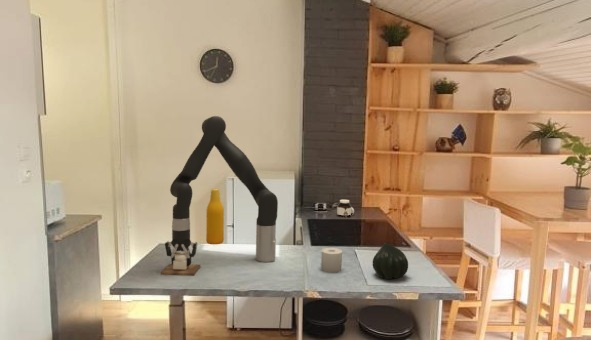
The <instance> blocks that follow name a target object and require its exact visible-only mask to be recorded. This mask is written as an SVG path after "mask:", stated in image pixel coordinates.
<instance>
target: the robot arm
mask: <svg viewBox="0 0 591 340" xmlns="http://www.w3.org/2000/svg"><path fill="white" fill-rule="evenodd" d="M226 128H227V124H226V121H225V120H224V119H223V118H222V117H221V116H218V115H217V116H216V115H214V116H210V117H208V118H206V119H205V120H203V122H202V125H201V130H202V133H203V134H202V137H201V139H200V140H199V142H198V144H197V146H196V147H195V149H193V151H192V153H191V154H190V155H189V157H188V159H186V160H187V161H186V162H185V164H184V166H183V168H182V169H181V172H179V173H178V174H177V176H176V177H175V179H174V180H173V182H172V183H171V185H170V189H169V191H170V195H172V196H173V197H175V198H176V202H175V204H174V205H173V206H172V220H171V222H172V224H171V238H172V239H171V240H170V241H169V240H168V241H166V242H164V246H165V253H166V256H167V257H170V258H171V261H170V264H172V265H173V261H174V260H175V253H177V252H185V254H186V256H187V266H189V265H190V264H192V258H194V257H196V253H197V247H198V242H196V241H195V242H192V240H191V219H190V214H191V213H190V207H191V204H192V198H193V188H192V186H191V185H190V183H191V182H192V181H195V180H196V179H197V178H198V176H199V175H200V173H201V170H202V169H203V167H204V165H205V163H206V161H207V159H208V158H209V156H210V154H211V151H212V150H213V148H214V147H215V149H216V150H217V151H218V152H219V154H220V155H221V157H222V159H224V161H225V162H226V164H227V166H229V169H230V170H231V171H232V172H233V174H234V175H235V176H236V177H237V179H238V180H239V181H240V182H241V184H243V186H245V187H246V188H247V190H248V192H249V193H250V195H251V196H252V198H253V200H254V201H255V203H256V205H257V206H258V209H257V218H256V223H255V224H256V225H255V226H256V230H255V231H256V232H255V233H256V235H255V238H256V240H255V260H256V261H258V262H261V263H269V262H275V261H276V257H277V256H276V255H277V254H276V253H277V251H276V249H277V248H276V246H277V244H276V243H277V239H276V232H277V231H276V229H277V227H276V225H277V224H276V223H277V219H278V208H279V207H278V206H279V205H278V198H277V195H276V194H275V193H274V192H272V191H271V190H270V189H268V187H266V185H265V184H264V183H263V181H261V179H260V177H259V175H258V173H257V171H256V168H255V166H254V165H253V163H252V162H251V161H250V159H249V158H248V156H247V155H246V154H245V152H244V151H243V150H242V149H240V148H239V147H238V146H237V145H236V144H235V143H233V142H232V141H231V140H230V139H229V137H228V136H227V134H226V132H225V131H226ZM171 246H172V247H173V250H172V249H171ZM190 246H191V248H192V251H191V249H190Z"/></svg>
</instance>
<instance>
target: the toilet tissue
mask: <svg viewBox="0 0 591 340" xmlns="http://www.w3.org/2000/svg"><path fill="white" fill-rule="evenodd" d="M342 263H343V251H342V249H340V248H337V247H324V248H321V263H320V265H321V266H320V270H321V271H322V272H325V273H329V274H330V273H331V274H335V273H340V272H342V268H343V267H342V265H343V264H342Z"/></svg>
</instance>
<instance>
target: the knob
mask: <svg viewBox="0 0 591 340" xmlns="http://www.w3.org/2000/svg"><path fill="white" fill-rule="evenodd" d="M187 267H188V266H187V256H186V254H185V252H184V251H177V253H175V260H174V261H173V269H183V270H186V269H187Z"/></svg>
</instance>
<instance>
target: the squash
mask: <svg viewBox="0 0 591 340" xmlns="http://www.w3.org/2000/svg"><path fill="white" fill-rule="evenodd" d="M372 268H373V270H374V271H375V273H376V274H377V275H378V276H379V277H380V278H382V279H386V280H392V279H393V278H394V279H398V278H401V277H403V276H405V275H406V274H407V272H408V269H409V261H408V258H407V256H406V254H405V253H404V252H403V251H402V250H401V249H399V248H398V247H395V246H394V245H391V244H389V243H383V244H382V245H381V247H380V248H379V249H378V250H377V252H376V253H375V255H374V257H373V258H372Z"/></svg>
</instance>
